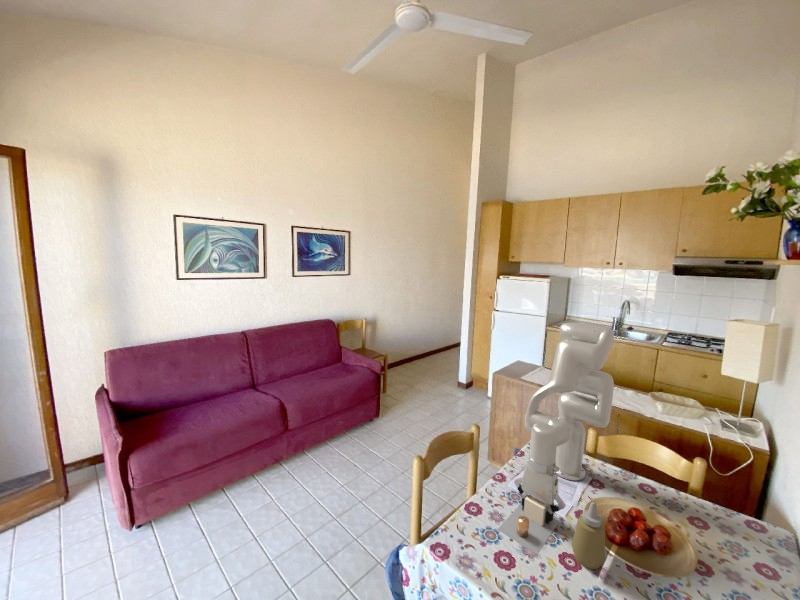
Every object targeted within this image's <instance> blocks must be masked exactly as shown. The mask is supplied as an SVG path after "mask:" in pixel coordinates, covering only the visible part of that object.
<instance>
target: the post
mask: <svg viewBox="0 0 800 600" xmlns="http://www.w3.org/2000/svg"><path fill="white" fill-rule="evenodd" d="M528 531H529V519H528V518H526V517H524V516H519V517H518V524H517V534H518V535H519V536H520V537H522V538H527V537H528Z"/></svg>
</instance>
